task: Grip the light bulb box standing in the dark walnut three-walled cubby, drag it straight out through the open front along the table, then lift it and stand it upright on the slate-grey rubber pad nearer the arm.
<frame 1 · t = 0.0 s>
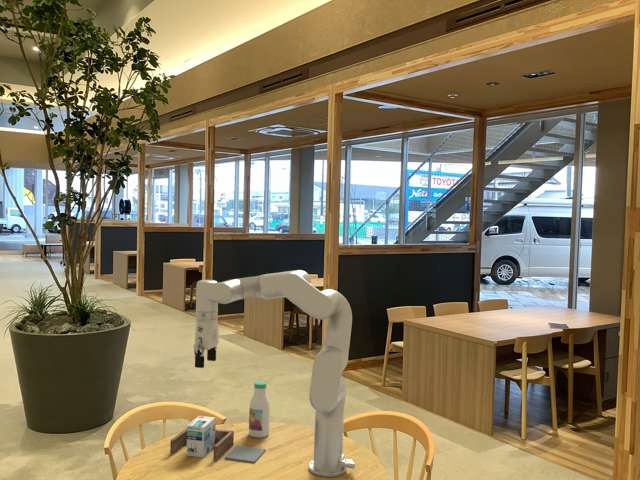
hand: (205, 363, 205), 31 cm above the table, tool pointing down, fingers open, 9 cm apart
pad: (245, 454, 205), on the table
cubby: (200, 450, 207), on the table
milk bottle: (258, 434, 224), on the table
light bulb box: (200, 451, 207), on the table
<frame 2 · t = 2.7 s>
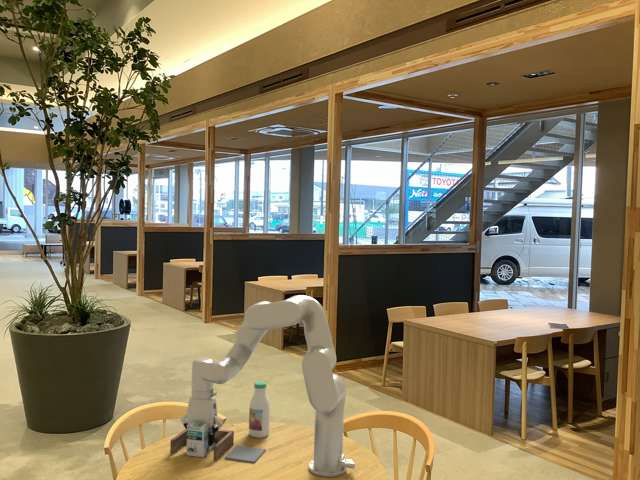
hand: (201, 442, 207), 3 cm above the table, tool pointing down, fingers closed on light bulb box, 6 cm apart
light bulb box: (200, 451, 207), on the table, touching gripper
everything else where it was.
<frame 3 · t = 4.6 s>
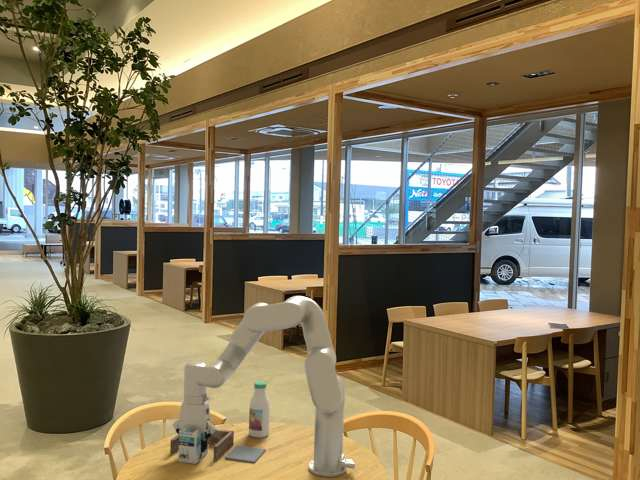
hand: (193, 448, 201), 3 cm above the table, tool pointing down, fingers closed on light bulb box, 6 cm apart
light bulb box: (193, 457, 202), on the table, touching gripper
everything else where it was.
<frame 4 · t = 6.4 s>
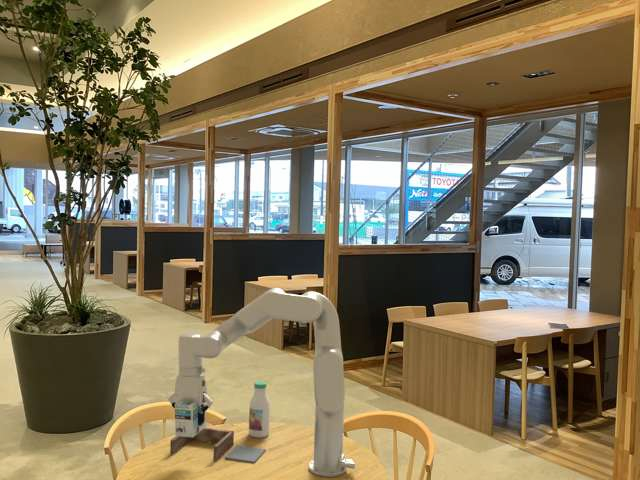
hand: (190, 422, 197), 14 cm above the table, tool pointing down, fingers closed on light bulb box, 6 cm apart
light bulb box: (190, 431, 197), point 10 cm above the table, touching gripper
everything else where it was.
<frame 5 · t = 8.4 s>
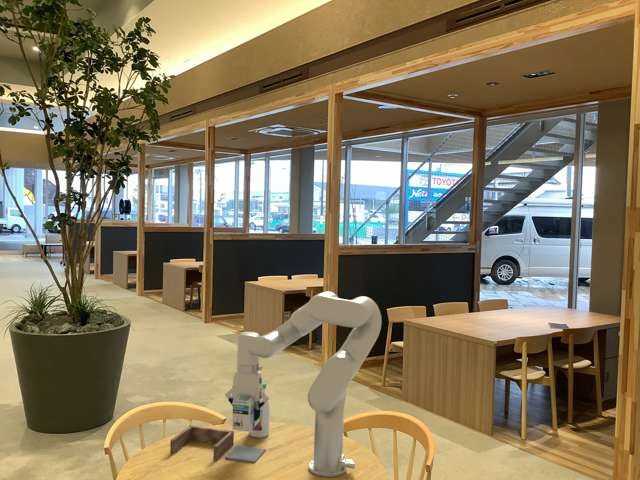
hand: (246, 418, 204), 13 cm above the table, tool pointing down, fingers closed on light bulb box, 6 cm apart
light bulb box: (245, 426, 205), point 10 cm above the table, touching gripper
everything else where it was.
when the fingers open (5 cm above the table, at t = 10.3 s): light bulb box drops 1 cm, resting on pad.
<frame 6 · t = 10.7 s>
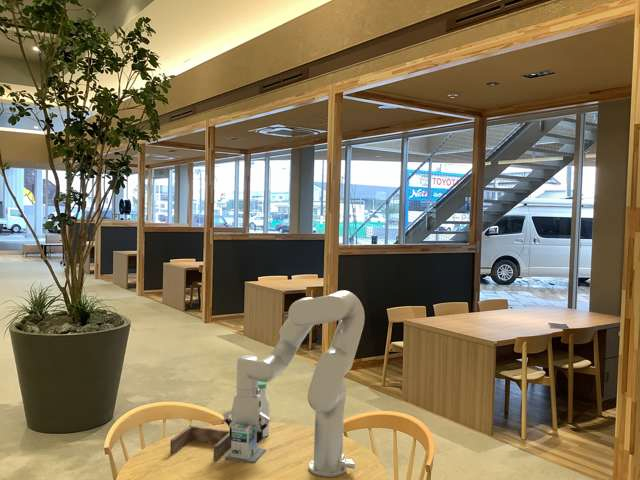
hand: (245, 439, 205), 5 cm above the table, tool pointing down, fingers open, 9 cm apart
light bulb box: (245, 453, 205), resting on pad
everything else where it was.
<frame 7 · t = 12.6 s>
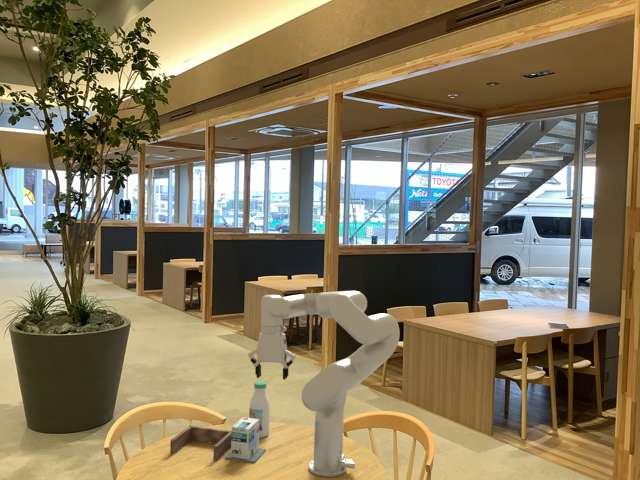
hand: (271, 377, 208), 26 cm above the table, tool pointing down, fingers open, 9 cm apart
nothing on the table moved.
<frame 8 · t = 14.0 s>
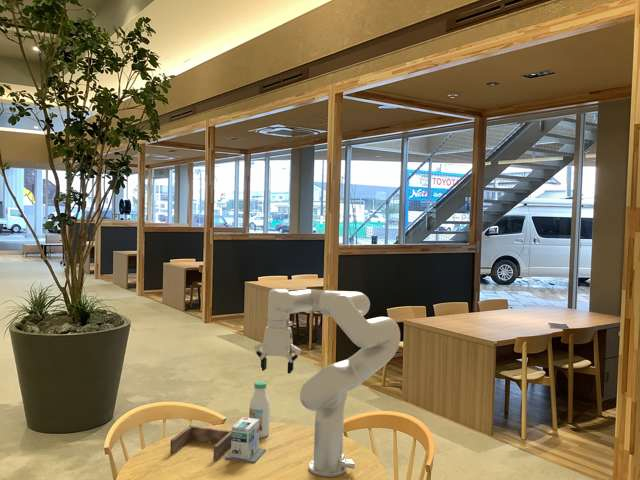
hand: (276, 371, 209), 28 cm above the table, tool pointing down, fingers open, 9 cm apart
nothing on the table moved.
at the end: light bulb box inside the target area on the pad (0.2 cm from its centre), point 0.4 cm above the pad's base; light bulb box tilted 0°; the gripper is holding nothing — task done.
